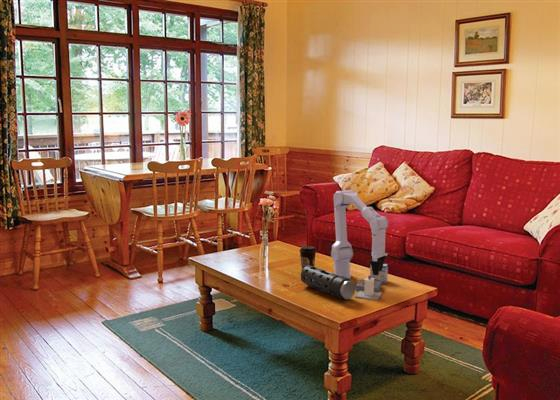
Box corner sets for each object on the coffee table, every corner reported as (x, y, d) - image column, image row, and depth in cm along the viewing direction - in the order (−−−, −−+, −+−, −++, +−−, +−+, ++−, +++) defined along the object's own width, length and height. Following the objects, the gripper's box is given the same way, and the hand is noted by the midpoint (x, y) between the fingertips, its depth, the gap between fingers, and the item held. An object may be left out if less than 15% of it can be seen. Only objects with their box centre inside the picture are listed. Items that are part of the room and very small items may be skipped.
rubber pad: (360, 290, 251) (360, 289, 251) (382, 293, 247) (382, 292, 247) (355, 297, 241) (355, 296, 241) (377, 300, 238) (377, 299, 238)
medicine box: (369, 281, 264) (370, 264, 262) (371, 279, 268) (371, 262, 266) (386, 283, 261) (386, 266, 260) (387, 280, 265) (388, 263, 264)
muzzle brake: (315, 284, 261) (315, 263, 259) (356, 300, 238) (357, 277, 237) (299, 287, 255) (300, 266, 253) (340, 305, 233) (341, 281, 231)
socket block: (360, 284, 260) (360, 279, 259) (381, 286, 256) (381, 281, 256) (355, 290, 250) (355, 285, 250) (377, 293, 247) (377, 288, 246)
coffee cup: (307, 275, 274) (307, 250, 272) (295, 271, 280) (295, 247, 278) (319, 271, 279) (319, 247, 277) (307, 268, 286) (308, 244, 283)
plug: (365, 292, 246) (366, 274, 245) (373, 293, 245) (374, 275, 244) (364, 294, 243) (364, 276, 242) (372, 295, 242) (372, 277, 240)
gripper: (384, 248, 236) (383, 278, 238) (390, 240, 249) (389, 269, 252) (368, 246, 239) (367, 276, 241) (375, 239, 252) (374, 267, 254)
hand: (377, 272), depth 247 cm, fingers open, 7 cm apart
